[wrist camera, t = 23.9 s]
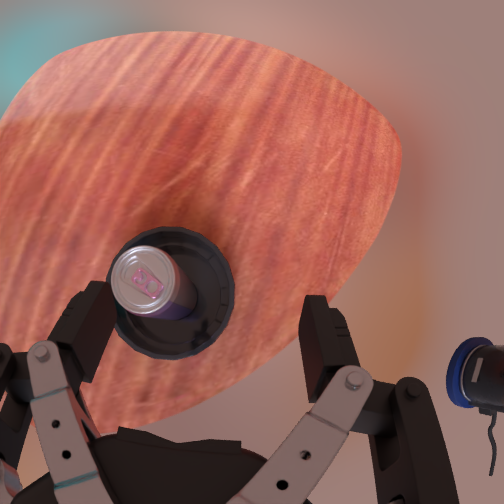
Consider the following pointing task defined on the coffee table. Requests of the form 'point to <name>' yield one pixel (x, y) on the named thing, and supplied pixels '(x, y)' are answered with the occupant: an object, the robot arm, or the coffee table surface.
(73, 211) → the coffee table surface
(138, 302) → the beverage can
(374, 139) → the coffee table surface
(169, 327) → the dark round dish
